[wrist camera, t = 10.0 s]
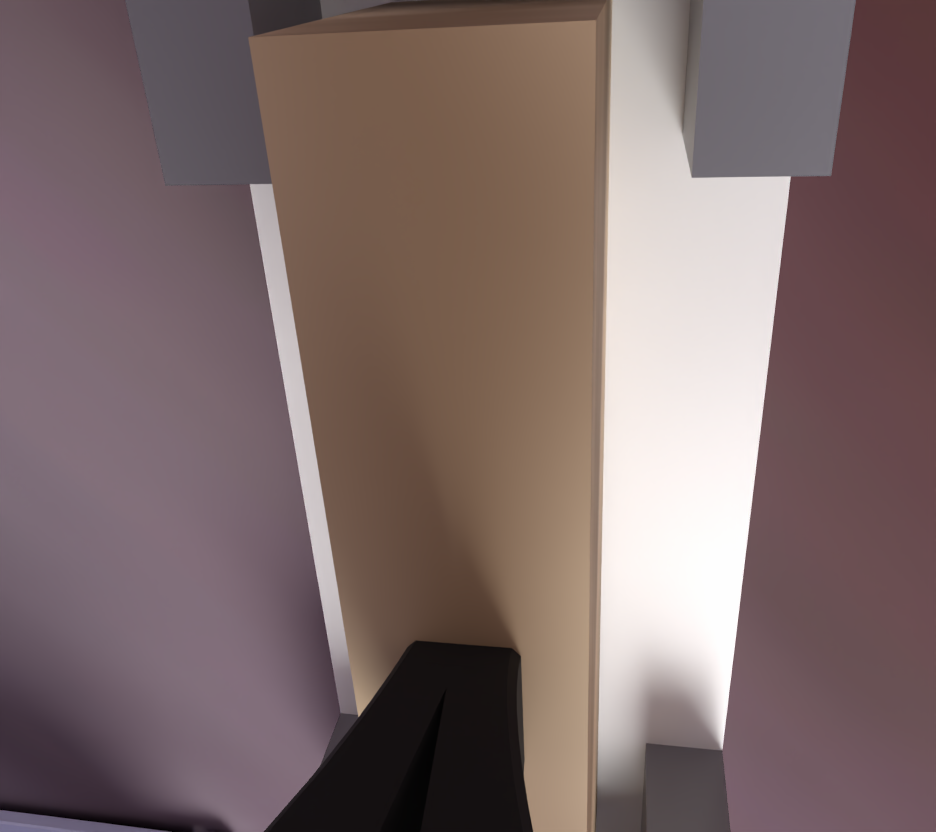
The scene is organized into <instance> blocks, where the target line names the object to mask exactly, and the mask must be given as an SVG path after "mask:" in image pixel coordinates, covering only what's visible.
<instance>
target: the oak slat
mask: <svg viewBox="0 0 936 832" xmlns="http://www.w3.org/2000/svg"><path fill="white" fill-rule="evenodd" d="M248 39H249V45H250V51H251V57H252V63H253V70H254V76H255V82H256V88H257V94H258V100H259V107H260V113H261V119H262V125H263V131H264V137H265V144H266V150H267V156H268V162H269V168H270V175H271V181H272V187H273V193H274V199H275V205H276V212H277V218H278V224H279V230H280V236H281V242H282V249H283V255H284V261H285V267H286V273H287V279H288V286H289V292H290V298H291V304H292V310H293V316H294V323H295V329H296V335H297V341H298V347H299V353H300V360H301V366H302V372H303V378H304V384H305V390H306V397H307V403H308V409H309V415H310V421H311V427H312V434H313V440H314V446H315V452H316V458H317V464H318V471H319V477H320V483H321V489H322V495H323V501H324V508H325V514H326V520H327V526H328V532H329V538H330V545H331V551H332V557H333V563H334V569H335V575H336V582H337V588H338V594H339V600H340V606H341V612H342V619H343V625H344V631H345V637H346V643H347V649H348V656H349V662H350V668H351V674H352V680H353V686H354V693H355V699H356V705H357V711H358V717H359V716H360V715H361V713H362V712H363V710H364V709H365V708H366V706H367V705H368V704H369V702H370V701H371V700H372V698H373V697H374V695H375V694H376V693H377V691H378V690H379V688H380V687H381V686H382V684H383V683H384V681H385V680H386V678H387V677H388V676H389V674H390V673H391V671H392V670H393V668H394V667H395V665H396V664H397V662H398V661H399V659H400V658H401V656H402V655H403V653H404V652H405V650H406V648H407V647H408V646H409V645H410V644H412V643H413V642H414V641H416V640H417V641H429V642H441V643H454V644H466V645H478V646H492V647H505V648H512V649H514V650H515V651H516V652H517V653H518V654H519V655H520V656H521V670H522V699H523V728H524V756H525V762H524V781H525V788H526V794H527V800H528V807H529V812H530V817H531V823H532V828H533V832H596V814H597V772H598V720H599V668H600V616H601V565H602V513H603V461H604V409H605V357H606V305H607V253H608V201H609V149H610V97H611V45H612V0H424V1H406V2H390V3H386V4H382V5H378V6H374V7H370V8H366V9H361V10H357V11H353V12H349V13H345V14H341V15H337V16H333V17H329V18H325V19H321V20H317V21H313V22H308V23H304V24H300V25H296V26H292V27H288V28H284V29H280V30H276V31H272V32H268V33H264V34H260V35H255V36H251V37H248Z"/></svg>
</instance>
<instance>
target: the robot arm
mask: <svg viewBox="0 0 936 832" xmlns="http://www.w3.org/2000/svg"><path fill="white" fill-rule="evenodd" d="M524 762H525V756H524V728H523V699H522V670H521V656H520V655H519V654H518V653H517V652H516V651H515V650H514V649H512V648H505V647H492V646H478V645H466V644H454V643H441V642H429V641H417V640H416V641H414V642H413V643H412V644H410V645H409V646H408V647H407V648H406V650H405V652H404V653H403V655H402V656H401V658H400V659H399V661H398V662H397V664H396V665H395V667H394V668H393V670H392V671H391V673H390V674H389V676H388V677H387V678H386V680H385V681H384V683H383V684H382V686H381V687H380V688H379V690H378V691H377V693H376V694H375V695H374V697H373V698H372V700H371V701H370V702H369V704H368V705H367V706H366V708H365V709H364V710H363V712H362V713H361V715H360V716H359V717H358V719H357V720H356V721H355V723H354V724H353V725H352V727H351V728H350V729H349V730H348V732H347V733H346V734H345V735H344V737H343V738H342V739H341V741H340V742H339V743H338V744H337V746H336V747H335V748H334V749H333V751H332V752H331V753H330V755H329V756H328V757H327V758H326V760H325V761H324V762H323V763H322V765H321V766H320V767H319V768H318V770H317V771H316V772H315V773H314V775H313V776H312V777H311V778H310V779H309V781H308V782H307V783H306V784H305V785H304V786H303V787H302V789H301V790H300V791H299V792H298V793H297V794H296V795H295V797H294V798H293V799H292V800H291V801H290V802H289V803H288V805H287V806H286V807H285V808H284V809H283V810H282V812H281V813H280V814H279V815H278V816H277V817H276V818H275V820H274V821H273V822H272V823H271V824H270V825H269V826H268V828H267V829H266V830H265V831H264V832H533V828H532V823H531V817H530V812H529V807H528V800H527V794H526V788H525V781H524ZM0 832H170V831H163V830H155V829H147V828H139V827H131V826H123V825H116V824H108V823H100V822H92V821H84V820H76V819H68V818H61V817H53V816H45V815H37V814H29V813H21V812H14V811H6V810H0Z"/></svg>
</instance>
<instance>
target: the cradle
mask: <svg viewBox="0 0 936 832" xmlns="http://www.w3.org/2000/svg"><path fill="white" fill-rule="evenodd" d="M406 1H424V0H125V2H126V6H127V11H128V16H129V20H130V25H131V29H132V34H133V39H134V43H135V48H136V52H137V57H138V62H139V66H140V71H141V75H142V80H143V85H144V89H145V94H146V98H147V103H148V108H149V112H150V117H151V121H152V126H153V131H154V135H155V140H156V144H157V149H158V154H159V158H160V163H161V167H162V172H163V177H164V181H165V185H233V184H250V188H251V194H252V200H253V206H254V212H255V218H256V223H257V229H258V235H259V241H260V247H261V253H262V258H263V264H264V270H265V276H266V282H267V287H268V293H269V299H270V305H271V311H272V317H273V322H274V328H275V334H276V340H277V346H278V351H279V357H280V363H281V369H282V375H283V381H284V386H285V392H286V398H287V404H288V410H289V415H290V421H291V427H292V433H293V439H294V445H295V450H296V456H297V462H298V468H299V474H300V479H301V485H302V491H303V497H304V503H305V509H306V514H307V520H308V526H309V532H310V538H311V544H312V549H313V555H314V561H315V567H316V573H317V578H318V584H319V590H320V596H321V602H322V608H323V613H324V619H325V625H326V631H327V637H328V642H329V648H330V654H331V660H332V666H333V672H334V677H335V683H336V689H337V695H338V701H339V706H340V712H341V714H340V716H339V719H338V721H337V724H336V727H335V729H334V732H333V734H332V737H331V739H330V742H329V745H328V747H327V750H326V752H325V755H324V758H323V760H322V763H323V762H324V761H325V760H326V758H327V757H328V756H329V755H330V753H331V752H332V751H333V749H334V748H335V747H336V746H337V744H338V743H339V742H340V741H341V739H342V738H343V737H344V735H345V734H346V733H347V732H348V730H349V729H350V728H351V727H352V725H353V724H354V723H355V721H356V720H357V719H358V711H357V705H356V699H355V693H354V686H353V680H352V674H351V668H350V662H349V656H348V649H347V643H346V637H345V631H344V625H343V619H342V612H341V606H340V600H339V594H338V588H337V582H336V575H335V569H334V563H333V557H332V551H331V545H330V538H329V532H328V526H327V520H326V514H325V508H324V501H323V495H322V489H321V483H320V477H319V471H318V464H317V458H316V452H315V446H314V440H313V434H312V427H311V421H310V415H309V409H308V403H307V397H306V390H305V384H304V378H303V372H302V366H301V360H300V353H299V347H298V341H297V335H296V329H295V323H294V316H293V310H292V304H291V298H290V292H289V286H288V279H287V273H286V267H285V261H284V255H283V249H282V242H281V236H280V230H279V224H278V218H277V212H276V205H275V199H274V193H273V187H272V181H271V175H270V168H269V162H268V156H267V150H266V144H265V137H264V131H263V125H262V119H261V113H260V107H259V100H258V94H257V88H256V82H255V76H254V70H253V63H252V57H251V51H250V45H249V39H248V37H251V36H255V35H260V34H264V33H268V32H272V31H276V30H280V29H284V28H288V27H292V26H296V25H300V24H304V23H308V22H313V21H317V20H321V19H325V18H329V17H333V16H337V15H341V14H345V13H349V12H353V11H357V10H361V9H366V8H370V7H374V6H378V5H382V4H386V3H390V2H406ZM855 2H856V0H612V45H611V97H610V149H609V201H608V253H607V305H606V357H605V409H604V461H603V513H602V565H601V616H600V668H599V720H598V772H597V814H596V832H730V823H729V813H728V803H727V793H726V783H725V774H724V764H723V754H722V748H723V739H724V731H725V723H726V714H727V706H728V697H729V689H730V681H731V672H732V664H733V655H734V647H735V639H736V630H737V622H738V614H739V605H740V597H741V588H742V580H743V572H744V563H745V555H746V547H747V538H748V530H749V521H750V513H751V505H752V496H753V488H754V479H755V471H756V463H757V454H758V446H759V438H760V429H761V421H762V412H763V404H764V396H765V387H766V379H767V371H768V362H769V354H770V345H771V337H772V329H773V320H774V312H775V303H776V295H777V287H778V278H779V270H780V262H781V253H782V245H783V236H784V228H785V220H786V211H787V203H788V195H789V186H790V178H791V176H831V172H832V165H833V158H834V151H835V144H836V136H837V129H838V122H839V115H840V108H841V101H842V94H843V87H844V80H845V73H846V65H847V58H848V51H849V44H850V37H851V30H852V23H853V16H854V9H855ZM322 763H321V765H322ZM321 765H320V766H321Z"/></svg>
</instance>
